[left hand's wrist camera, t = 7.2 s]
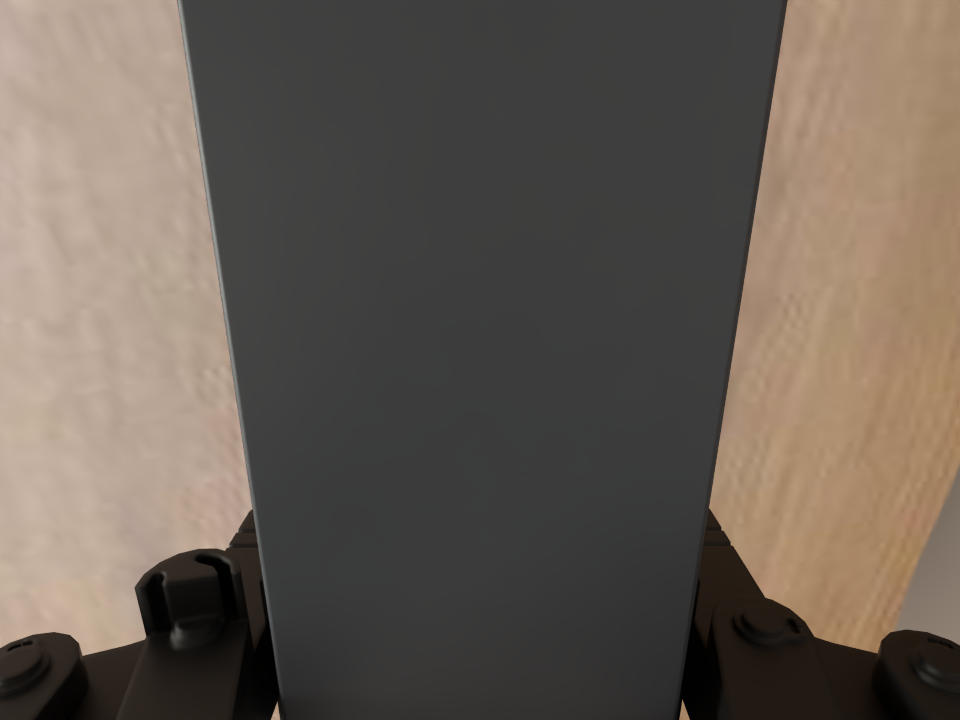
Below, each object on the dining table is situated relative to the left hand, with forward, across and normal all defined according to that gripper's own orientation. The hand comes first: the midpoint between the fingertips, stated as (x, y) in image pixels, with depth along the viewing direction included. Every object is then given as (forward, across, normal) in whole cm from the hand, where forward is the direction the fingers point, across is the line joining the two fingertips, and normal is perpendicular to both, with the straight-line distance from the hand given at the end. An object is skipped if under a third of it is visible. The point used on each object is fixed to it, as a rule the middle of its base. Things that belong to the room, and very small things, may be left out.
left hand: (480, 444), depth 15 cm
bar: (+1, 0, -8) cm, 8 cm away
